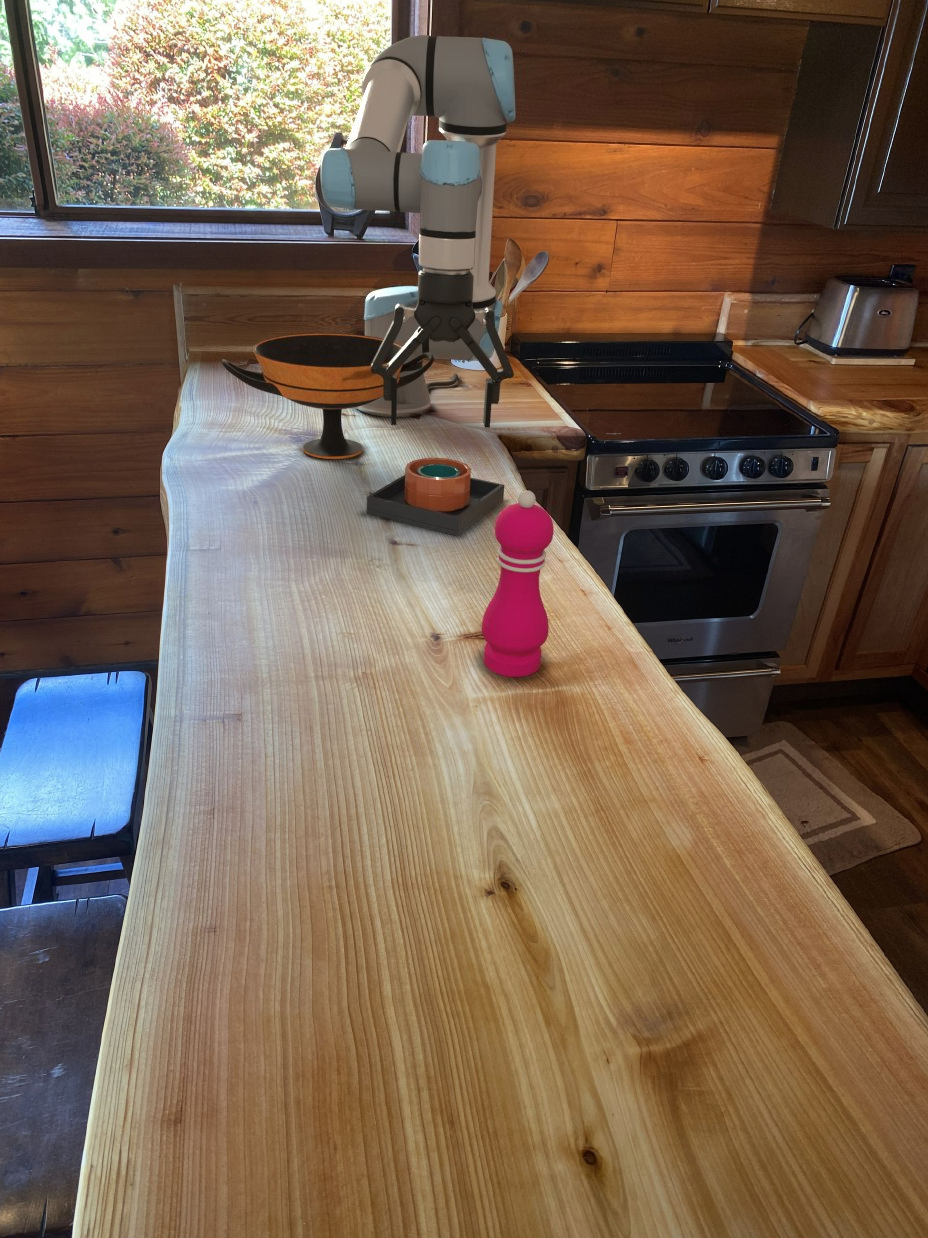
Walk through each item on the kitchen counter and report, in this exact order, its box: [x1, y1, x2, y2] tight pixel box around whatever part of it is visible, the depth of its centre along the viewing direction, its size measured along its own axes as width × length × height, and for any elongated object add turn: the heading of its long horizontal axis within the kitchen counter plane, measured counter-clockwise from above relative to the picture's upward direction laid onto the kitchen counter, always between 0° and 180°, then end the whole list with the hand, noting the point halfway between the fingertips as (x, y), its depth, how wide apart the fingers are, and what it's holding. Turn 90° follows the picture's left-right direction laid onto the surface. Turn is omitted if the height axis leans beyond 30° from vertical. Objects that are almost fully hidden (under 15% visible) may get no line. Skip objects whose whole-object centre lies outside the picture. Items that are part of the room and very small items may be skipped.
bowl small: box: [417, 464, 460, 479], centre depth 136 cm, size 6×6×4 cm
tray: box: [366, 474, 505, 537], centre depth 137 cm, size 16×15×3 cm
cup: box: [220, 332, 435, 460], centre depth 155 cm, size 36×26×18 cm
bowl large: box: [404, 457, 472, 513], centre depth 136 cm, size 10×10×6 cm
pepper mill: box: [481, 490, 555, 678], centre depth 94 cm, size 7×7×20 cm
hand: (440, 423), depth 132 cm, fingers open, 13 cm apart
